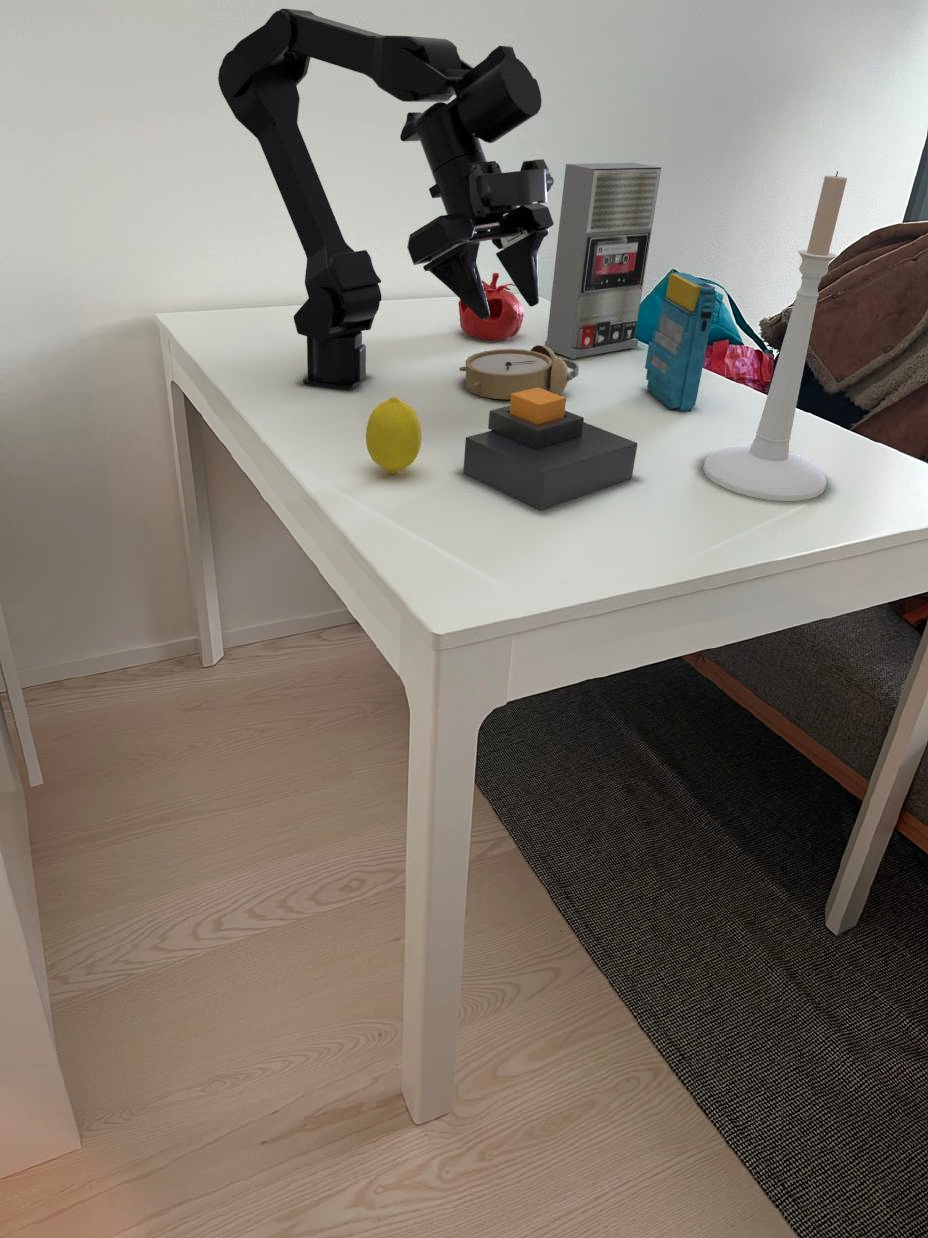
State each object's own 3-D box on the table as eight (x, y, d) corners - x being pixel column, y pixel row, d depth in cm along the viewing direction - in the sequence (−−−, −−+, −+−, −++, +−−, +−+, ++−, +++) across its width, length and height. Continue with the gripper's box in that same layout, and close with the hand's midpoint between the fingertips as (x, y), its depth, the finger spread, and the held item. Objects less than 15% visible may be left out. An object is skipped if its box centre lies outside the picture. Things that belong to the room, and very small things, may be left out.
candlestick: (681, 474, 101) (742, 165, 85) (735, 445, 110) (799, 160, 94) (795, 512, 94) (883, 183, 79) (843, 478, 103) (930, 176, 87)
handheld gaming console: (698, 412, 119) (722, 289, 112) (667, 412, 118) (689, 288, 111) (667, 387, 127) (688, 271, 120) (639, 388, 126) (658, 271, 119)
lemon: (399, 489, 93) (401, 410, 89) (354, 474, 95) (354, 397, 91) (430, 472, 97) (434, 396, 93) (386, 459, 99) (388, 384, 95)
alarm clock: (454, 353, 125) (562, 332, 127) (458, 389, 127) (564, 368, 129) (474, 379, 115) (591, 356, 117) (478, 417, 118) (592, 394, 120)
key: (508, 415, 97) (510, 393, 96) (535, 408, 99) (538, 386, 98) (536, 427, 94) (539, 404, 93) (563, 419, 97) (566, 397, 95)
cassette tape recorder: (573, 360, 136) (597, 169, 123) (544, 350, 140) (564, 163, 127) (637, 349, 143) (666, 168, 131) (608, 339, 147) (634, 162, 134)
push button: (460, 472, 97) (463, 416, 94) (552, 445, 106) (558, 393, 103) (540, 511, 91) (547, 452, 87) (631, 478, 99) (641, 423, 96)
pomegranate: (486, 323, 151) (491, 262, 146) (534, 338, 145) (540, 275, 140) (442, 332, 145) (446, 268, 140) (490, 347, 139) (496, 282, 134)
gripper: (458, 127, 86) (518, 295, 89) (566, 125, 99) (615, 271, 102) (379, 183, 94) (436, 336, 97) (489, 174, 107) (536, 308, 110)
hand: (511, 311), depth 101 cm, fingers open, 9 cm apart
